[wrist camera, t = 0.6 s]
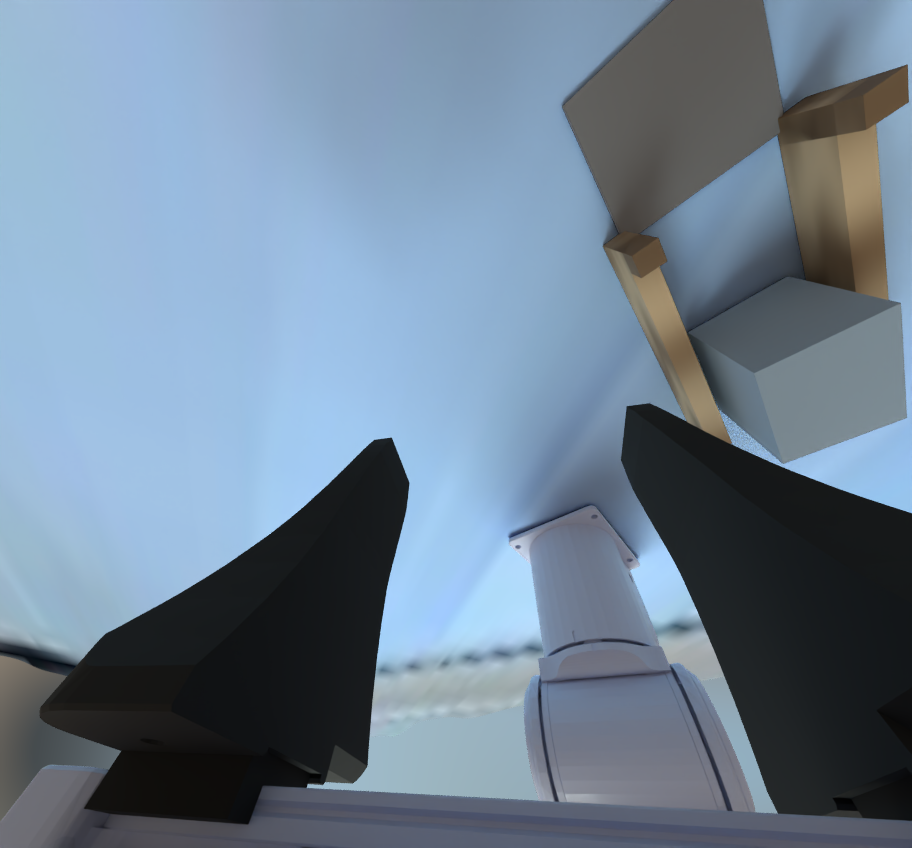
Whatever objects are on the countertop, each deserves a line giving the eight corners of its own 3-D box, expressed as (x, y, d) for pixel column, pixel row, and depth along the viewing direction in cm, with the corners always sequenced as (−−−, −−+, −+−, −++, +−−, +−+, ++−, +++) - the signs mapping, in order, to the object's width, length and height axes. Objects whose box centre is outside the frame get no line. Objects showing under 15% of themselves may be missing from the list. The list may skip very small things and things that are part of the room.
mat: (783, 128, 13) (786, 128, 13) (623, 243, 15) (624, 243, 15) (746, -70, 10) (749, -73, 10) (561, 107, 13) (562, 106, 13)
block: (808, 368, 18) (906, 417, 14) (719, 408, 20) (782, 463, 16) (787, 276, 15) (901, 303, 11) (687, 332, 17) (754, 373, 13)
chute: (845, 355, 18) (917, 385, 15) (689, 426, 21) (723, 462, 18) (805, 97, 12) (907, 64, 9) (602, 246, 15) (631, 256, 12)
